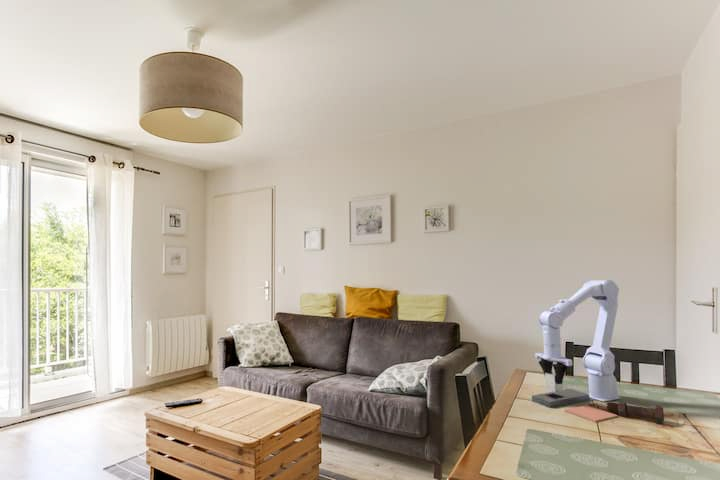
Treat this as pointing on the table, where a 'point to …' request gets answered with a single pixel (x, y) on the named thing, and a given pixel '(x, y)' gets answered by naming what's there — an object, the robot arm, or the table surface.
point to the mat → (591, 413)
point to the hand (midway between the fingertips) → (554, 382)
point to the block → (560, 398)
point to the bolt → (637, 411)
